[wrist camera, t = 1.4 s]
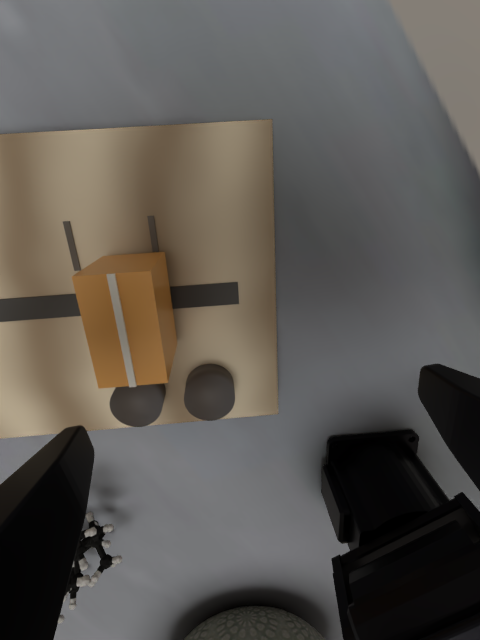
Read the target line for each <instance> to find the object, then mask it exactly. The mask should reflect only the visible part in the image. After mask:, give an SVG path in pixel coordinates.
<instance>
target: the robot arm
mask: <svg viewBox="0 0 480 640" xmlns="http://www.w3.org/2000/svg"><path fill="white" fill-rule="evenodd" d="M418 395H419V398H420V400H421V402H422V404H423V406H424V407H425V409H426V411H427V412H428V414H429V416H430V417H431V419H432V421H433V423H434V424H435V426H436V428H437V429H438V431H439V433H440V435H441V436H442V438H443V440H444V441H445V443H446V445H447V446H448V448H449V449H450V451H451V452H452V454H453V455H454V456H455V458H456V459H457V461H458V462H459V463H460V465H461V466H462V467H463V469H464V470H465V472H466V473H467V474H468V476H469V477H470V478H471V480H472V481H473V482H474V484H475V485H476V487H477V488H478V489H479V491H480V378H477V377H474V376H471V375H468V374H466V373H463V372H460V371H457V370H455V369H452V368H449V367H446V366H443V365H441V364H432V365H426V366H423V367H422V368H421V371H420V378H419V386H418ZM410 437H411V438H410ZM418 441H419V436H418V435H417V434H416V432H415V431H413V430H405V431H394V432H383V433H372V434H361V435H350V436H339V437H332V438H330V439H329V440H328V442H327V458H326V464H324V466H323V467H322V489H321V492H322V495H323V498H324V501H325V504H326V507H327V510H328V513H329V516H330V519H331V522H332V525H333V527H334V530H335V533H336V536H337V539H338V541H339V542H341V543H342V544H343V543H348V546H349V549H350V551H349V552H347V553H346V554H344V555H342V556H340V555H338V556H336V557H334V558H332V565H333V572H334V573H333V578H334V585H335V591H336V597H337V603H338V609H339V616H340V622H341V628H342V634H343V639H344V640H480V512H479V510H478V509H477V508H476V507H475V506H474V505H473V504H472V502H471V501H470V500H469V499H468V498H467V497H466V495H465V494H464V493H463V492H461V493H459V494H457V495H455V496H454V497H455V498H454V499H452V500H449V499H448V497H447V496H446V495H445V493H444V492H443V490H442V489H441V488H440V486H439V485H438V484H437V482H436V481H435V480H434V478H433V477H432V476H431V474H430V473H429V471H428V470H427V469H426V467H425V466H424V465H423V463H422V462H421V461H420V459H419V458H418V456H417V455H416V453H417V447H418ZM334 444H336V445H334ZM93 463H94V448H93V446H92V443H91V441H90V438H89V436H88V434H87V431H86V429H85V427H84V426H82V425H77V426H72V427H67V428H65V429H64V430H62V431H61V432H60V433H59V434H58V435H57V436H55V437H54V438H53V439H52V440H51V441H50V442H49V443H47V444H46V445H45V446H44V447H43V448H42V449H41V450H39V451H38V452H37V453H36V454H35V455H34V456H33V457H31V458H30V459H29V460H28V461H27V462H26V463H25V464H23V465H22V466H21V467H20V468H19V469H18V470H17V471H15V472H14V473H13V474H12V475H11V476H10V477H9V478H7V479H6V480H5V481H4V482H3V483H2V484H1V485H0V640H53V639H54V635H55V631H56V627H57V624H58V620H59V616H60V612H61V608H62V604H63V601H64V597H65V593H66V589H67V585H68V581H69V578H70V574H71V570H72V566H73V562H74V558H75V555H76V551H77V547H78V543H79V539H80V535H81V532H82V528H83V524H84V519H85V515H86V509H87V503H88V497H89V490H90V483H91V476H92V470H93Z"/></svg>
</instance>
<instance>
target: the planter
mask: <svg viewBox="0 0 480 640" xmlns="http://www.w3.org/2000/svg"><path fill="white" fill-rule="evenodd" d="M184 640H325V638H324V637H323V636H322V635H321V634H320V633H319V632H318V631H317V630H316V629H315V628H313V627H312V626H311V625H310V624H308V623H307V622H306V621H304V620H303V619H301V618H299V617H298V616H296V615H294V614H292V613H290V612H288V611H285V610H282V609H279V608H274V607H269V606H242V607H237V608H232V609H229V610H226V611H223V612H220V613H218V614H216V615H214V616H212V617H210V618H208V619H207V620H205V621H204V622H202V623H201V624H200V625H198V626H197V627H196V628H195V629H194V630H193V631H191V632H190V633H189V634H188V635H187V636H186V637H185V639H184Z"/></svg>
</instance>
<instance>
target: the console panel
mask: <svg viewBox="0 0 480 640" xmlns="http://www.w3.org/2000/svg"><path fill="white" fill-rule="evenodd" d="M154 252H165V257H166V264H167V271H168V279H169V286H170V293H171V301H172V308H173V315H174V322H175V330H176V337H177V347H176V352H175V356H174V360H173V364H172V368H171V373H170V377H169V381H168V383H160V384H148V385H137V387H130V388H129V386H124V387H112V388H100V389H99V388H98V384H97V380H96V376H95V372H94V367H93V363H92V359H91V355H90V351H89V347H88V343H87V339H86V334H85V330H84V326H83V322H82V318H81V314H80V310H79V305H78V301H77V297H76V293H75V289H74V285H73V281H72V276H73V275H75V274H76V273H78V272H79V271H81V270H82V269H84V268H85V267H87V266H88V265H90V264H91V263H93V262H95V261H96V260H98V259H99V258H101V257H102V256H110V255H125V254H139V253H154ZM273 414H278V376H277V328H276V280H275V231H274V183H273V134H272V119H267V120H249V121H231V122H213V123H195V124H177V125H159V126H141V127H123V128H105V129H87V130H69V131H51V132H33V133H15V134H0V438H12V437H23V436H35V435H46V434H57V433H60V432H61V431H62V430H64V429H65V428H67V427H72V426H77V425H82V426H84V427H85V429H86V431H91V430H103V429H114V428H126V427H142V426H148V425H160V424H171V423H182V422H194V421H205V420H207V421H212V420H217V419H228V418H239V417H251V416H262V415H273Z"/></svg>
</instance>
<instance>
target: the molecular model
mask: <svg viewBox="0 0 480 640" xmlns="http://www.w3.org/2000/svg"><path fill="white" fill-rule="evenodd" d="M86 519H87V520H88V523H89V529H88V530H84V531H82V532H81V535H80V539H79V543H78V547H77V551H76V555H75V558H74V562H73V566H72V570H71V574H70V578H69V581H68V585H67V589H66V593H65V597H64V601H66V598H67V594H68V592H69V593H71V594H70V605H69V609H71V610H73V609H74V608H75V607H76V592H77V591H78V590H79V587H83V586H86V585H88V586H90V587H93V586H94V585H95V582H97V581H98V578H99V577H100V575H101V573H102V572H103V570H104V569H107V568H108V567H110V566H111V567H115V566H116V565H117V564H119V563H121V562H122V557H121V556H116V557H111V556H110V555H109V554H107V555H106V553H105V551H104V549H103V547H102V546H105V547H106V548H108V547H110V545H111V542H110V541H109V540H107V541H105V540H102V538H103V536H104V535H105V533H106V532H111V531H112V530H113V527H114V526H113V525H112V524H109V525H108V524H106V525H105V526H102V527H100V526H98V523H97V522H95V521H94V517H93V513H92V512H89V513H87V514H86ZM83 538H84V539H83ZM82 539H83V540H82ZM81 540H82V541H81ZM90 548H96V550H97V552H98V554H99V556H100V558H101V560H100V565H101V566H99V568H98V569H97V571H96V572H95V573H94V575H93V576H92V577H91V579H90V576H89V575H85V576H83V574H82V573H80V572H81V570H82V571H84V570H86V569H87V567H88V562H87V561H86V558H85V556H84V554H83V553H85V552H86V551H87V550H88V549H90ZM64 601H63V602H64ZM63 620H64V616H63V615H60V616H59V620H58V623H60V624H61V623H62V622H63Z"/></svg>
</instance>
